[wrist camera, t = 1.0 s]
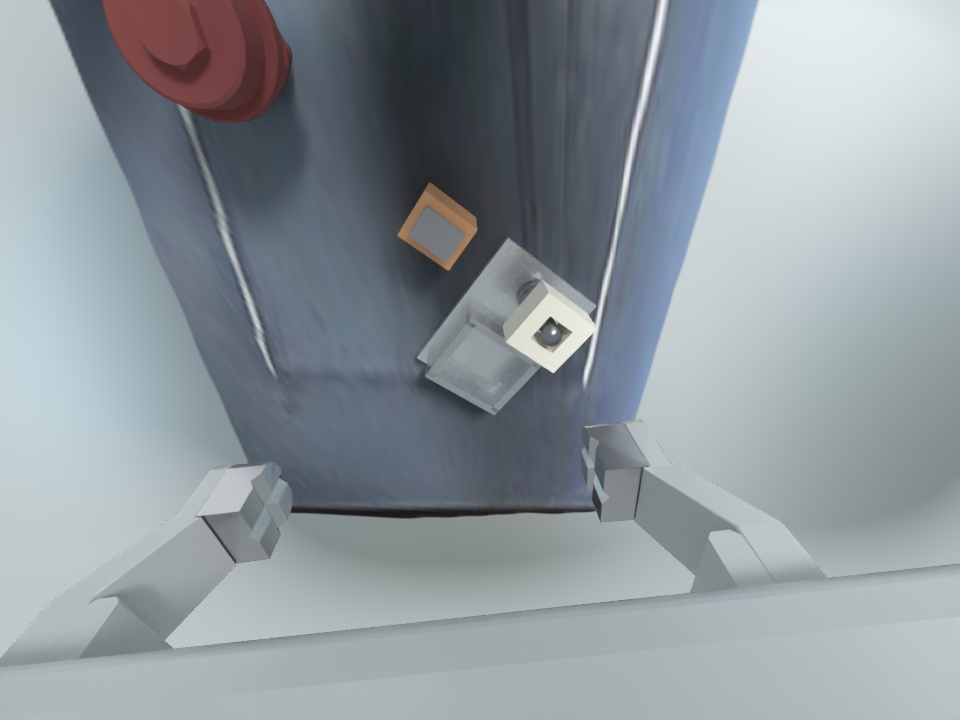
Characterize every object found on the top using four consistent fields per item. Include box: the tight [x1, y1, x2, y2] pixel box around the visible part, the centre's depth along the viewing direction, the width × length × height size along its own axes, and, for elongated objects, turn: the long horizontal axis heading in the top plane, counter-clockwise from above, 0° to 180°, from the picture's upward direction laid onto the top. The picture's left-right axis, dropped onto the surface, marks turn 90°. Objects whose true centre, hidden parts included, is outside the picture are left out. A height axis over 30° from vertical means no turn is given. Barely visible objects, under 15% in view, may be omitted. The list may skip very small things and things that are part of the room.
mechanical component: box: [103, 0, 292, 122], centre depth 29 cm, size 12×10×10 cm
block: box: [397, 182, 478, 271], centre depth 39 cm, size 5×6×7 cm
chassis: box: [417, 236, 596, 415], centre depth 45 cm, size 19×14×12 cm
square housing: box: [503, 280, 597, 373], centre depth 40 cm, size 6×6×4 cm
